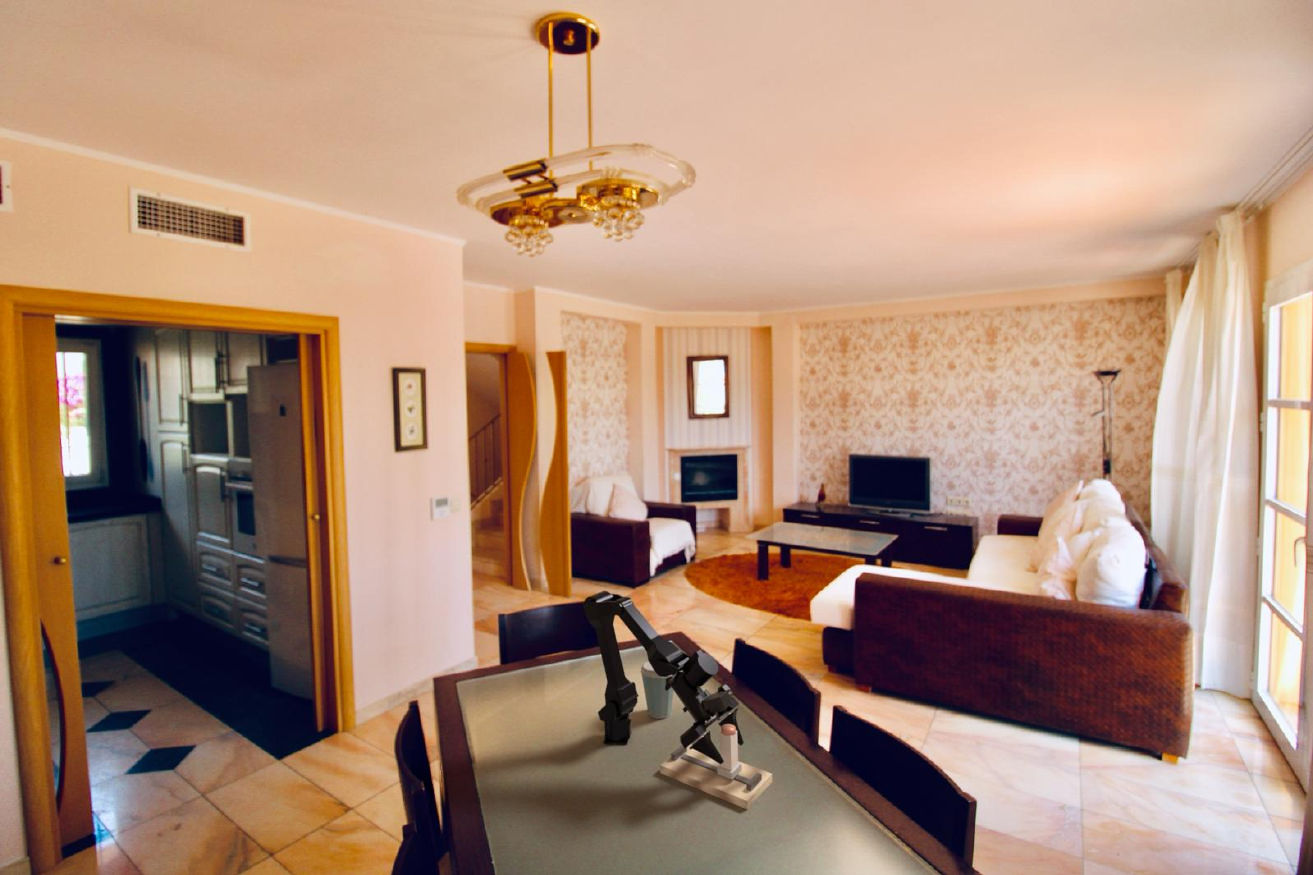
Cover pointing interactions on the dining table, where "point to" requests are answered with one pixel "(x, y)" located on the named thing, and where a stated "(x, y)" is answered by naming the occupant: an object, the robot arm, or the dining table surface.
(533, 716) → the dining table surface
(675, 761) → the slider console
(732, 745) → the slider lever
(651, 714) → the disposable coffee cup
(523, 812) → the dining table surface
